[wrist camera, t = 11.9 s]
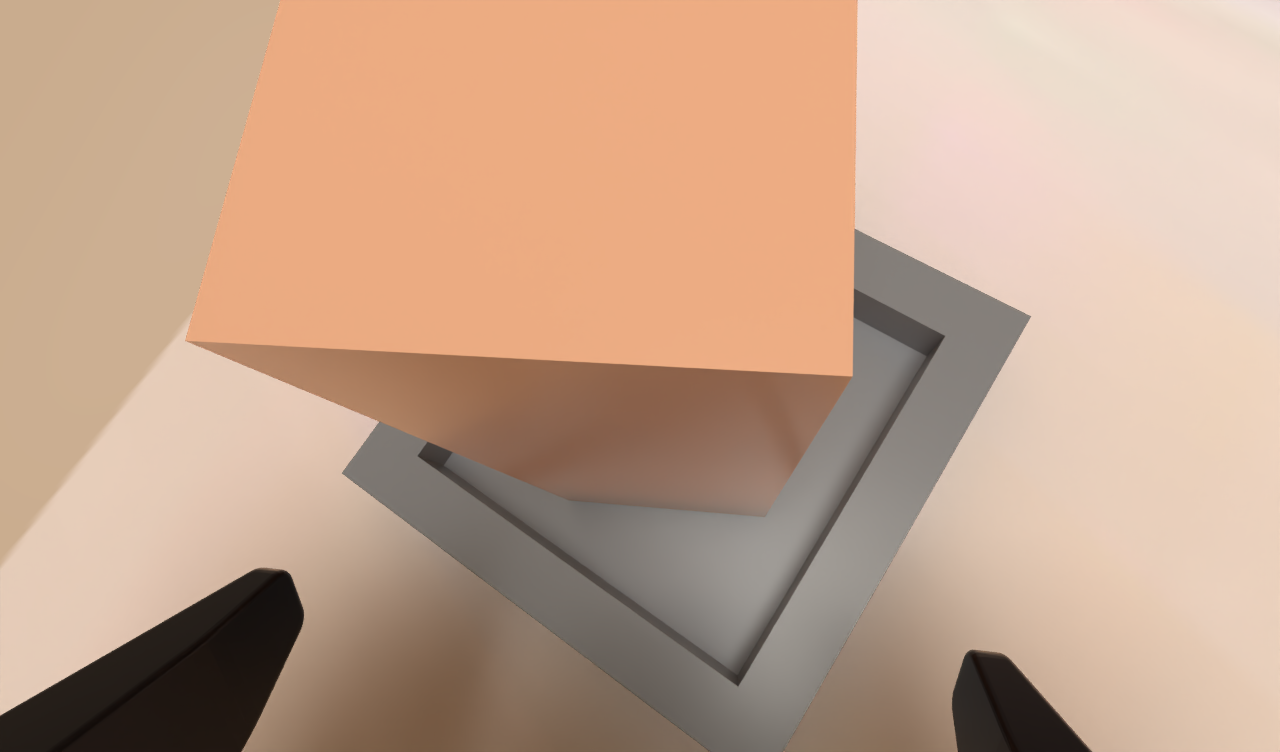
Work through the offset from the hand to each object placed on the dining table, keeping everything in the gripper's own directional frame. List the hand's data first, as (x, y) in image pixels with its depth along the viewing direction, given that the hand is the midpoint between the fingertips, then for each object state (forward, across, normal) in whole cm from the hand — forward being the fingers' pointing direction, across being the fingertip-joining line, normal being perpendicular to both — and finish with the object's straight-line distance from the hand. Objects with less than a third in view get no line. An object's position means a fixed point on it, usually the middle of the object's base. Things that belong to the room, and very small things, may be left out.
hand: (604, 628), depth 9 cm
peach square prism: (+9, 0, +2) cm, 9 cm away
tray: (+10, 0, +3) cm, 10 cm away
